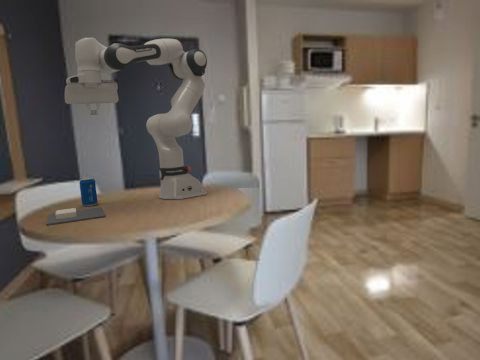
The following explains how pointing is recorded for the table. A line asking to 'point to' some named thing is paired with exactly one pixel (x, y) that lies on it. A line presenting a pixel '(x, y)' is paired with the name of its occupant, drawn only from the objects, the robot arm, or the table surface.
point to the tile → (66, 213)
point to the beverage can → (88, 191)
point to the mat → (81, 215)
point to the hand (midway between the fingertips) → (93, 114)
